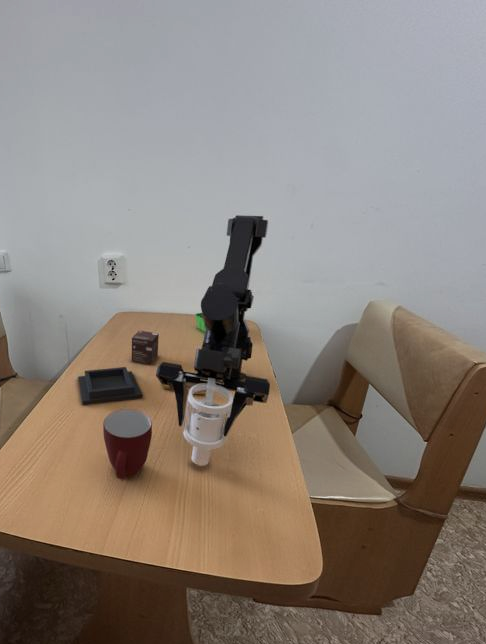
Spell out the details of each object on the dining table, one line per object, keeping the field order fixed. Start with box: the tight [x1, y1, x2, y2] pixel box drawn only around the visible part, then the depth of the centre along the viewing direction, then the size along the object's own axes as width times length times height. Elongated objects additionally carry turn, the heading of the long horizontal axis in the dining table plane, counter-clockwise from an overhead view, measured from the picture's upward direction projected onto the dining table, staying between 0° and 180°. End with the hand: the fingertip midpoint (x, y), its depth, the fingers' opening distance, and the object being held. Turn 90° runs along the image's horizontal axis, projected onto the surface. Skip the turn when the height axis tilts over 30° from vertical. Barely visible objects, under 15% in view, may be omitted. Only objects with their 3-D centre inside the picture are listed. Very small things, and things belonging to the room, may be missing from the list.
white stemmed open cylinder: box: [182, 378, 234, 467], centre depth 63 cm, size 7×7×15 cm
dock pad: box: [77, 366, 143, 406], centre depth 91 cm, size 14×12×3 cm
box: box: [131, 330, 160, 365], centre depth 105 cm, size 6×6×7 cm
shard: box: [163, 383, 206, 395], centre depth 91 cm, size 11×8×2 cm
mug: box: [102, 408, 153, 480], centre depth 62 cm, size 11×8×10 cm
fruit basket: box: [194, 312, 206, 333], centre depth 123 cm, size 11×9×11 cm
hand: (201, 430), depth 62 cm, fingers closed on white stemmed open cylinder, 7 cm apart
